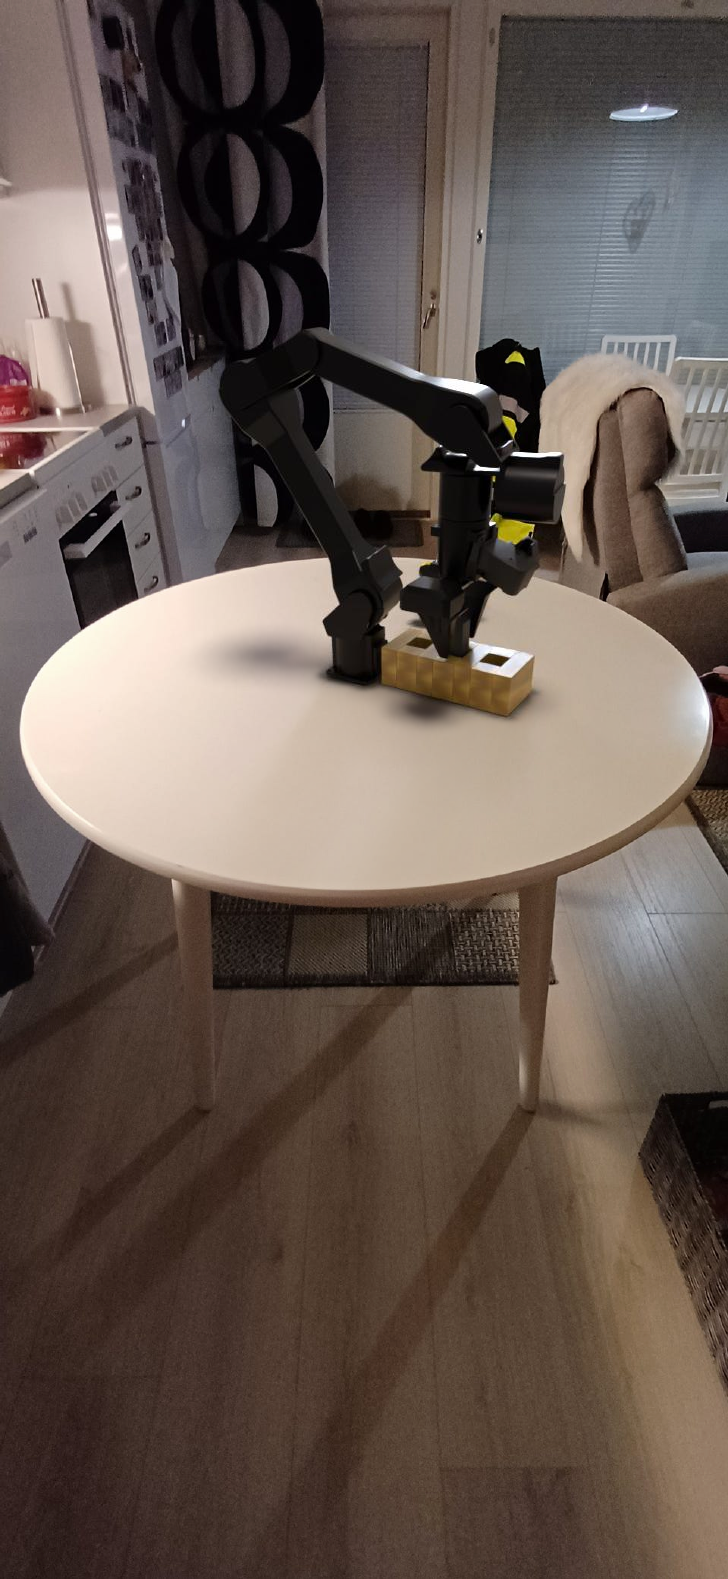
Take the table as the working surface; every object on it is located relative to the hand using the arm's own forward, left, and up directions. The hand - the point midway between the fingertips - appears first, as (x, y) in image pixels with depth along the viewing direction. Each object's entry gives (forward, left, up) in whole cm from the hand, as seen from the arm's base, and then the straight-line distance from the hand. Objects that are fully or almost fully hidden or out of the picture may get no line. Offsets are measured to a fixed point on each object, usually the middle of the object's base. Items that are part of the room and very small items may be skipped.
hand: (457, 647), depth 94 cm
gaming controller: (-13, +23, -6) cm, 27 cm away
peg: (0, 0, -6) cm, 6 cm away
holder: (0, 0, -6) cm, 6 cm away
